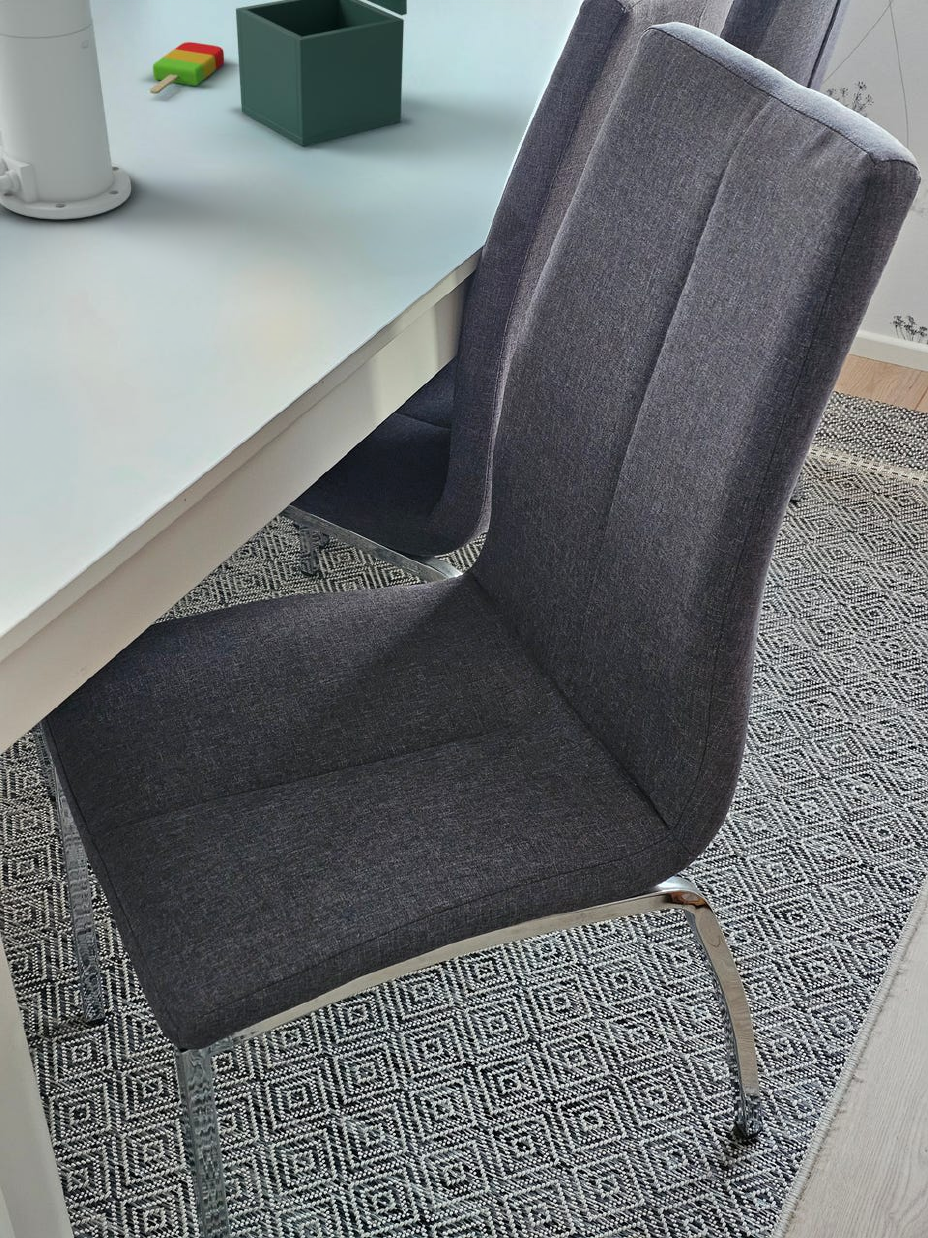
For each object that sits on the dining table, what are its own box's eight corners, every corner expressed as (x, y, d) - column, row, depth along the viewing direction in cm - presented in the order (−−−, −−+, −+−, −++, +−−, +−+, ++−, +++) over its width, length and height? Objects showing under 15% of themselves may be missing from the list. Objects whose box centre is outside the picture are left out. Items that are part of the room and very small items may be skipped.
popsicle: (228, 62, 146) (227, 46, 144) (176, 103, 135) (174, 86, 134) (185, 55, 146) (184, 39, 145) (130, 96, 136) (128, 79, 134)
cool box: (302, 146, 128) (300, 39, 121) (241, 111, 134) (235, 8, 127) (400, 121, 135) (404, 19, 128) (338, 89, 141) (338, -10, 134)
